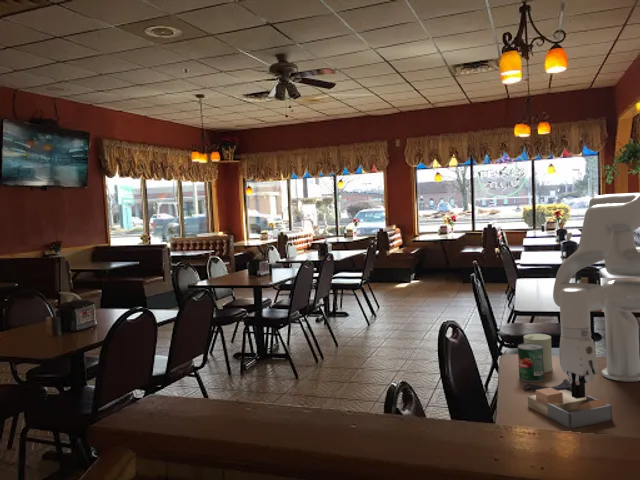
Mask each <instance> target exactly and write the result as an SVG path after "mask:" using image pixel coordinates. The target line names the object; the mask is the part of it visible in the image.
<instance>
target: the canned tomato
mask: <svg viewBox="0 0 640 480" xmlns="http://www.w3.org/2000/svg"><path fill="white" fill-rule="evenodd" d="M517 358H518V378H519V380H520V381H522V382H526V383H539V382H543V381H544V380H545V373H544V365H543V346H542V345H540V344H534V343H525V344H524V343H519V344H518V345H517Z"/></svg>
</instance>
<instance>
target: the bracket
mask: <svg viewBox="0 0 640 480" xmlns="http://www.w3.org/2000/svg"><path fill="white" fill-rule="evenodd" d="M562 380H563V381H562V382H561V383H560V384H557V385H554V386H547V385H546V386H545V385H538V384H533V383H531V382H526V383H525V384H524V386H523V389H524V391H525V392H526V391H528V392H529V391H530V392H531V391H535V392H536V390H539V389H544V388H550V387H551V388H553V389H555V390H558V391H560V390H567V391H570V392H572V391H571V382H570V381H569V379H568V378H565V379H562ZM528 387H529V388H528Z"/></svg>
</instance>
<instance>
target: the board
mask: <svg viewBox="0 0 640 480" xmlns="http://www.w3.org/2000/svg"><path fill="white" fill-rule="evenodd" d="M560 392H562V393H563V402H557V403H552V404H553V405H555V406H557V407H559V408H561V409H563V410H565V411H567V412H569V411H574V410H579V408H578V406H580V405H582V404H584V403H587V397H584V398H578V399H576V398H575V397H572V392H570V391H569V390H560ZM527 407H528V408H530V409H532V410H534V411H536V412H538V413H540V414H542V415H544V416H546V417H547V418H548V406H547V404H546V403H544V402H542V401H540V400H538V399H536V394H534V395H528V396H527Z"/></svg>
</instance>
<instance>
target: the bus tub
mask: <svg viewBox="0 0 640 480" xmlns="http://www.w3.org/2000/svg"><path fill="white" fill-rule="evenodd" d="M585 398H586V399H587V402H589V401H594V400H599V399H597V398H595V397H592V396H590V395H585ZM606 404H607V405H606V406H601V407H596V408H591V409H586V410H581V411H579V410H574V411H569V412H567V411H565V410H563V409H561V408H559V407H557V406H555V405H553V404H550V403H547V406H548V417H547V418H548V419H550V420H552V421H554V422H556V423H558V424H559V425H561V426H564V427H565V426H566V427H565V428H567V429H569V428H572V429H575V428H576V427H577V428H582V427H585V425H586V426H590V425H595V424H600V423H605V422H610V420H611V421H613V406H612V404H610V403H607V402H606ZM577 428H576V429H577Z"/></svg>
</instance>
